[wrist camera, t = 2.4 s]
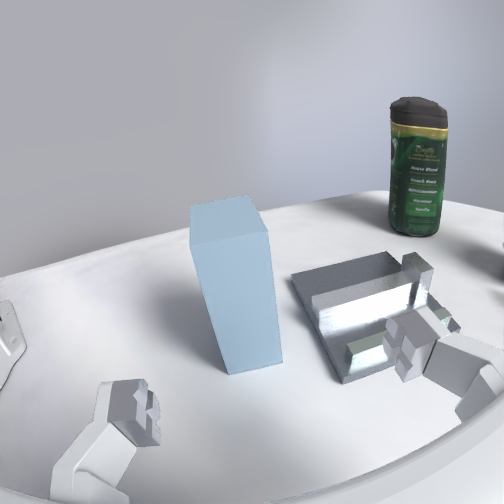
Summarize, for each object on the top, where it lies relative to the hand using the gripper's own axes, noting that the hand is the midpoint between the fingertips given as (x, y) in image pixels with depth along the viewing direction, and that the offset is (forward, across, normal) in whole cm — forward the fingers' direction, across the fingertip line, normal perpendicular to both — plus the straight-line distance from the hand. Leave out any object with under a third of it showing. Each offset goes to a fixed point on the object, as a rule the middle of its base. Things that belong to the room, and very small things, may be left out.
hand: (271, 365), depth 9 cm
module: (+13, 0, +12) cm, 17 cm away
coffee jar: (+26, -27, +12) cm, 40 cm away
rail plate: (+13, -12, +12) cm, 21 cm away
